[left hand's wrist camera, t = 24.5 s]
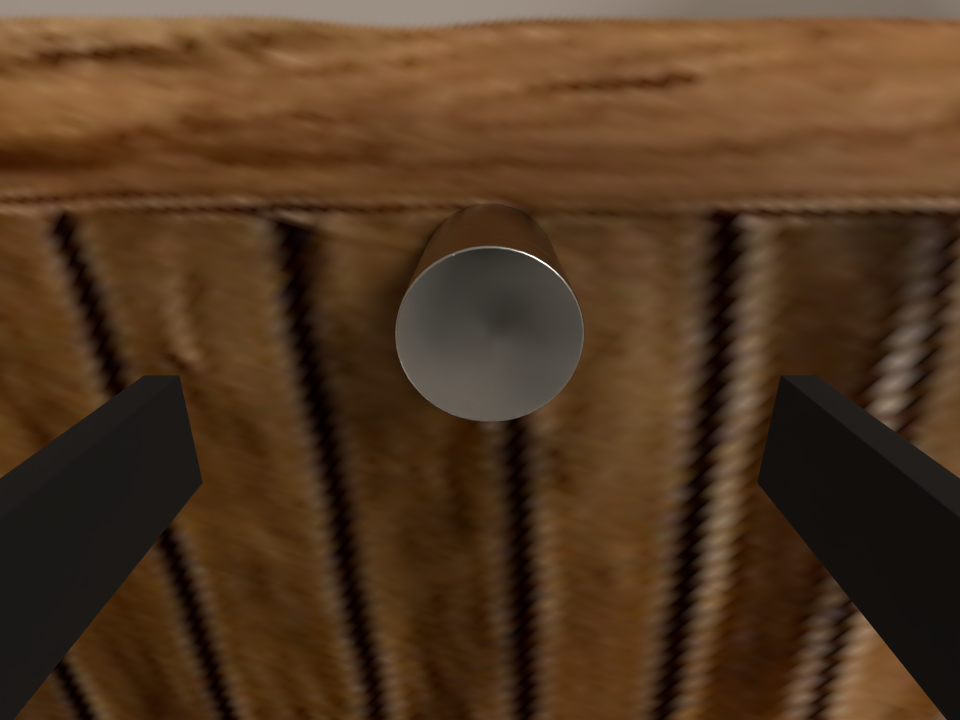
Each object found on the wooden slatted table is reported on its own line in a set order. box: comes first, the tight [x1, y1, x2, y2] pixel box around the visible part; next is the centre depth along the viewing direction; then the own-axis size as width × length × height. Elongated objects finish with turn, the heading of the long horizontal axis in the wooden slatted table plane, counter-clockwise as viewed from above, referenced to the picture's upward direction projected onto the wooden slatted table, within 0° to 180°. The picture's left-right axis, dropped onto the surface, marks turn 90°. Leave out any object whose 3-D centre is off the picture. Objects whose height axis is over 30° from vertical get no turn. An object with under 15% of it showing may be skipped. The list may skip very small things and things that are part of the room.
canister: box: [395, 204, 585, 422], centre depth 19 cm, size 5×5×7 cm
